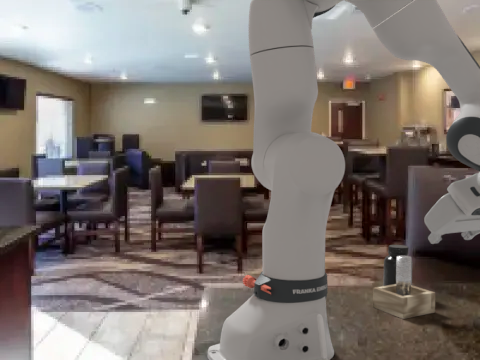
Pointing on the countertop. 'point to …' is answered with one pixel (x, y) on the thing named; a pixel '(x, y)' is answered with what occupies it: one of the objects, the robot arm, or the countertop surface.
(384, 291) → the open wooden box
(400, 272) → the metal coffee tamper
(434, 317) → the countertop surface
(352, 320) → the countertop surface
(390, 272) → the supplement bottle
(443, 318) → the countertop surface
